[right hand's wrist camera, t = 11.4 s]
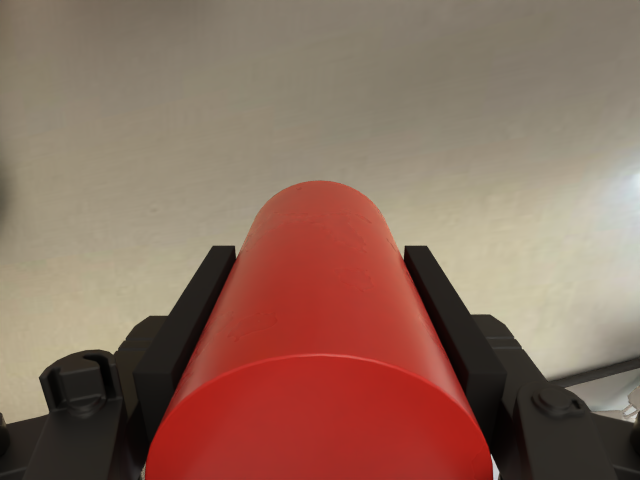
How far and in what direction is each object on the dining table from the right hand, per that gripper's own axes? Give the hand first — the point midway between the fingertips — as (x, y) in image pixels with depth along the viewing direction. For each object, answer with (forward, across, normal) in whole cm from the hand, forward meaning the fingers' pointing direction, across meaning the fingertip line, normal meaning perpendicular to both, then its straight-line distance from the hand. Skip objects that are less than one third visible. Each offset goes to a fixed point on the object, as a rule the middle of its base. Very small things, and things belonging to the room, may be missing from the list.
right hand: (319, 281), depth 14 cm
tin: (+3, 0, 0) cm, 3 cm away
